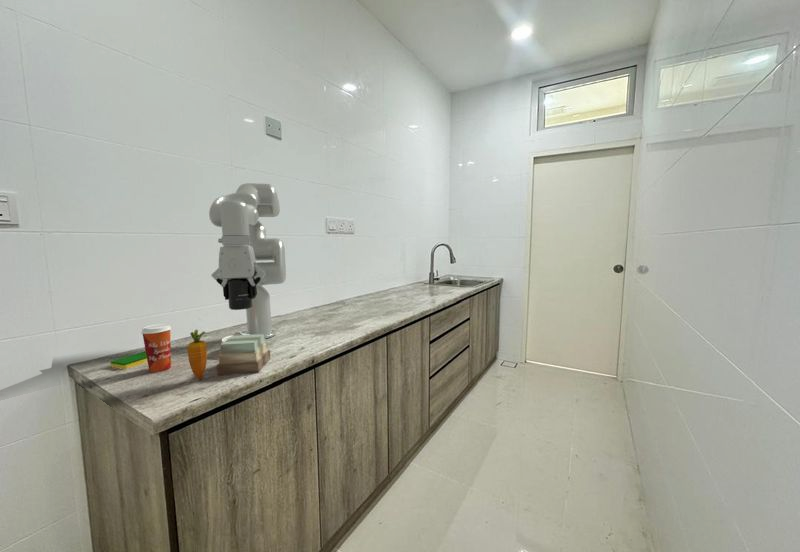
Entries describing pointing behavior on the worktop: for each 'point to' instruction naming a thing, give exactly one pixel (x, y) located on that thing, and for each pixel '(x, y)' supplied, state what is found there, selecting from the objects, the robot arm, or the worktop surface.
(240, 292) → the supplement bottle
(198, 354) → the carrot
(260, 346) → the layered stepped block
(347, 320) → the worktop surface
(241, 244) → the robot arm
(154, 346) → the paper cup
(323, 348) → the worktop surface
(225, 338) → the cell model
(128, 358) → the dish sponge
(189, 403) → the worktop surface
